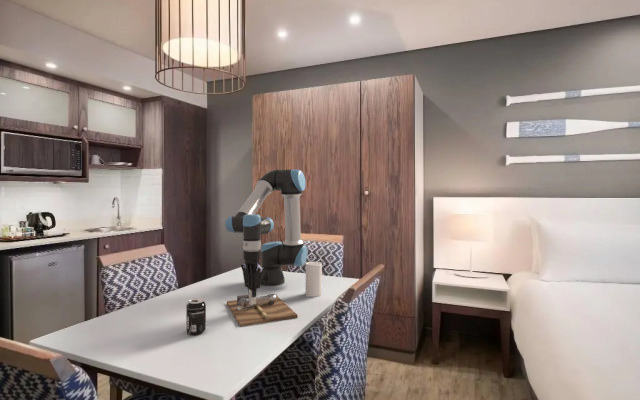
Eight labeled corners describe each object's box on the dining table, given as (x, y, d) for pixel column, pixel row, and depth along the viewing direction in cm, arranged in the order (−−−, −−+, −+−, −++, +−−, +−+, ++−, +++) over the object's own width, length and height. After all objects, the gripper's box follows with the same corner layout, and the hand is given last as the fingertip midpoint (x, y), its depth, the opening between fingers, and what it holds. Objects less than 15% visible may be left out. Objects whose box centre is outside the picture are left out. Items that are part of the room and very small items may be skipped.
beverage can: (190, 328, 134) (190, 297, 133) (208, 328, 133) (208, 297, 133) (183, 336, 127) (183, 303, 126) (201, 336, 127) (201, 303, 126)
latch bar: (273, 298, 163) (273, 292, 162) (277, 301, 159) (277, 294, 159) (238, 304, 154) (238, 298, 154) (242, 307, 150) (242, 300, 150)
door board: (226, 303, 163) (226, 292, 163) (276, 297, 173) (276, 287, 173) (239, 326, 136) (239, 313, 136) (297, 317, 146) (297, 305, 146)
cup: (322, 292, 182) (322, 261, 181) (320, 297, 174) (321, 265, 173) (306, 291, 183) (306, 261, 182) (304, 296, 174) (304, 264, 174)
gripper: (235, 249, 153) (236, 303, 153) (254, 252, 144) (255, 309, 145) (249, 247, 159) (249, 299, 159) (268, 250, 150) (268, 304, 151)
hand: (252, 303), depth 152 cm, fingers closed
